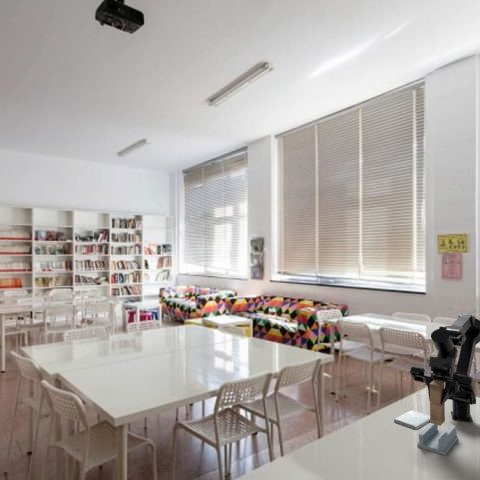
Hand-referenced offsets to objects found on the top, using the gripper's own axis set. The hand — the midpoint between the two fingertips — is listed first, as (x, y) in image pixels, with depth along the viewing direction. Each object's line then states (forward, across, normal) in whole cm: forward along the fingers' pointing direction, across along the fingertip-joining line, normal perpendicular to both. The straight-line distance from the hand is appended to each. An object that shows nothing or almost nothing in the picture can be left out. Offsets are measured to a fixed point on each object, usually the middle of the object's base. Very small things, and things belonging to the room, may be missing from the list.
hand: (435, 402), depth 127 cm
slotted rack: (+8, 0, +10) cm, 13 cm away
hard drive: (+1, -12, +19) cm, 22 cm away
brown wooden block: (+4, 0, +6) cm, 7 cm away
